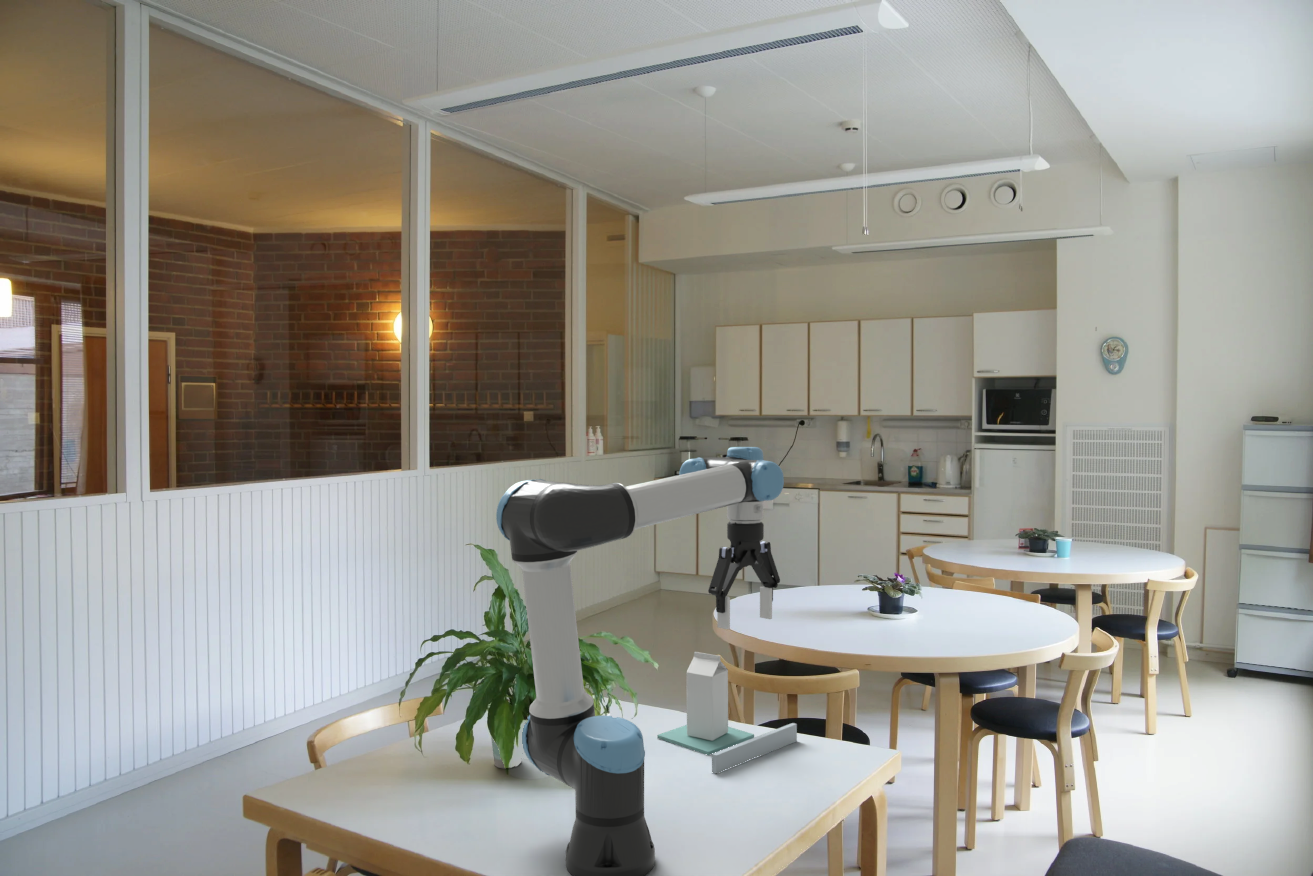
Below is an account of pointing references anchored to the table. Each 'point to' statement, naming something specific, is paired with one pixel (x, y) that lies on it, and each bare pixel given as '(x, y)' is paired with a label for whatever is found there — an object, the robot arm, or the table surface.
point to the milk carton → (707, 697)
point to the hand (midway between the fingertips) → (745, 623)
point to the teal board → (703, 745)
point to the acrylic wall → (754, 747)
